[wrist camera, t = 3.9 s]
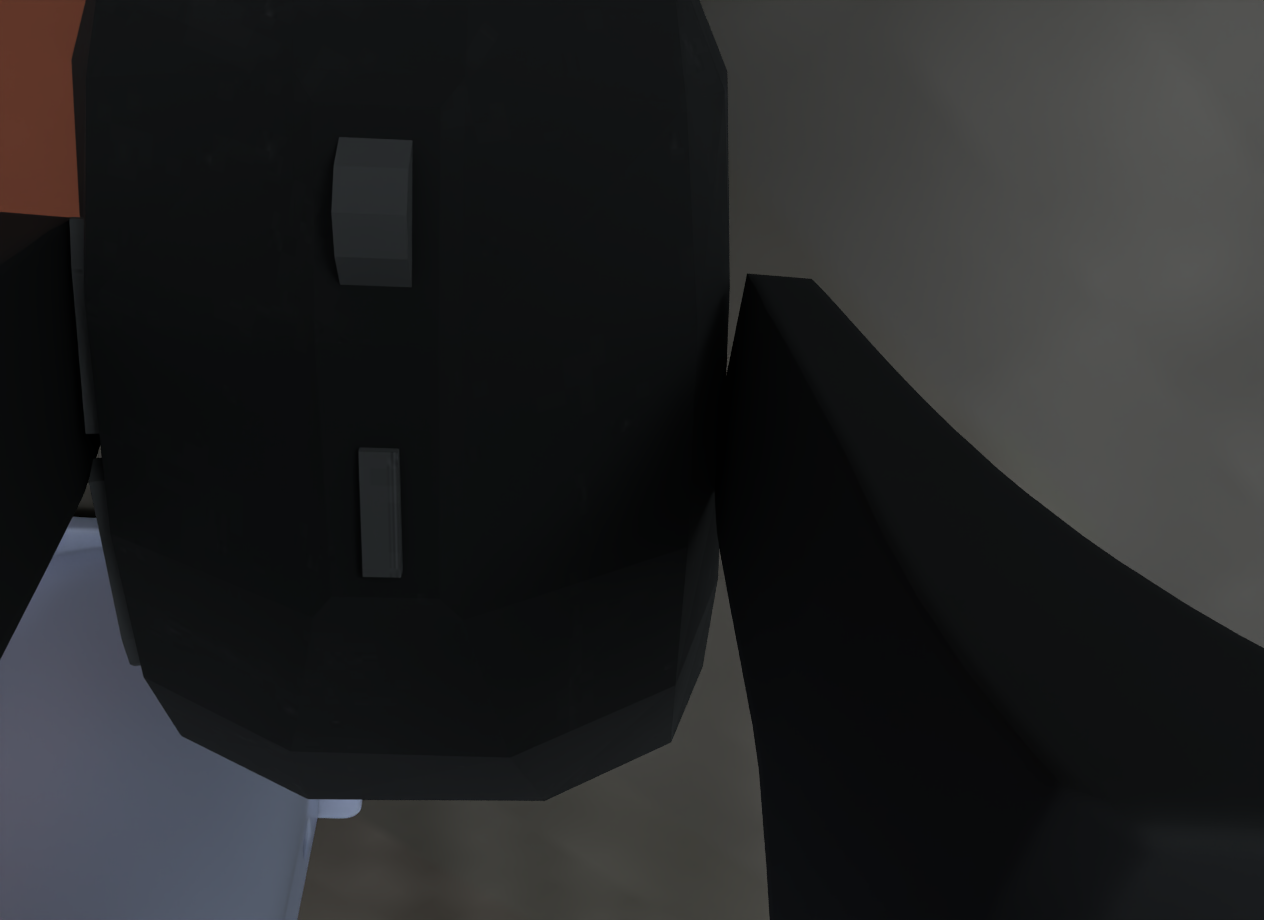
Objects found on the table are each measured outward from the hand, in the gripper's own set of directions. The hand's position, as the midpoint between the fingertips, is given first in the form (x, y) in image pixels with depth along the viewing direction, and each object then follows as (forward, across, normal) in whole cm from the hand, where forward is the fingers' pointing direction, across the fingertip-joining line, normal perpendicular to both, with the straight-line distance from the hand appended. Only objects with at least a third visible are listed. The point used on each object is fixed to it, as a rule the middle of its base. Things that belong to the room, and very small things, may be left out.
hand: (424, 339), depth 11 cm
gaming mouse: (+2, 0, 0) cm, 2 cm away
